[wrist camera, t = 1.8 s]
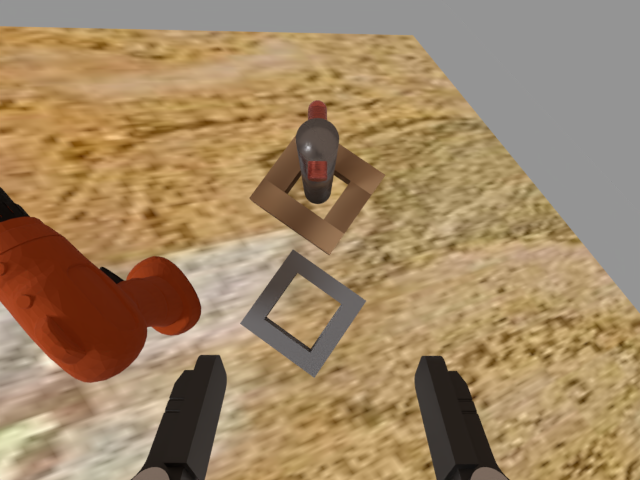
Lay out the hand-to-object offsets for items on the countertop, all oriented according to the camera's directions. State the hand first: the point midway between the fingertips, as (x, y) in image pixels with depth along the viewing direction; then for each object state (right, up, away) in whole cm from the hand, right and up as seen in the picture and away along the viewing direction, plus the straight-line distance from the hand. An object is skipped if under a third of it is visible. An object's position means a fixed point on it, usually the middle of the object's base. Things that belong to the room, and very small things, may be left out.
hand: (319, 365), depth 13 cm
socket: (-2, -1, +17) cm, 17 cm away
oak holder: (0, +10, +18) cm, 21 cm away
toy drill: (-17, +3, +17) cm, 25 cm away
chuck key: (0, +10, +18) cm, 21 cm away
